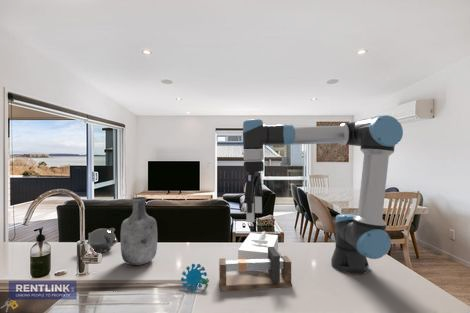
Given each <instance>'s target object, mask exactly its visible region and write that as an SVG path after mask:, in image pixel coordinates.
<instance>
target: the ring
mask: <svg viewBox="0 0 470 313" xmlns="http://www.w3.org/2000/svg"><path fill="white" fill-rule="evenodd" d="M280 258H281V255H280V253H279V252H278V253H277V251H276V250H275V248H274V247H268V259H272V270H268V272H267V273H269V274H270V276H271V278H272V281H273V283H280V273H281V269H280Z"/></svg>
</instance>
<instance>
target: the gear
mask: <svg viewBox="0 0 470 313" xmlns="http://www.w3.org/2000/svg"><path fill="white" fill-rule="evenodd" d="M185 269H186V270H187V273H186V271H184V270H183V272H182V273H181V274H182V275H183V276H184V277H186V278H184V277H183V276H182V277H181V278H180V281H181V282H182V287H183V288H186V290H187V291H189V292H190V291H191V289H192V291H194V292H196V291H197V287H198V288H199V289H201V288H202V287H203V285H205V286H208V285H209V284H208V283H209V282H210V280H209V278H204V277H207V275H208V273H207V271H206V269H205V267H204V266H202V265H201V264H200V263H197V265H196V264H195V263H191V267H190V266H189V265H188V266H186V268H185ZM204 271H205V272H204ZM202 276H204V277H202ZM184 282H185V283H184ZM188 285H189V286H188ZM197 285H198V286H197Z"/></svg>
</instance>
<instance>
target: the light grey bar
mask: <svg viewBox="0 0 470 313" xmlns="http://www.w3.org/2000/svg"><path fill="white" fill-rule="evenodd" d="M281 269H284V260H283V259H282V258H281V257H280V270H281ZM252 270H272V259H251V260H245V259H238V258H237V259H232V260H227V259H226V273H228V272H238V273H240V272H243V273H244V272H247V271H252Z"/></svg>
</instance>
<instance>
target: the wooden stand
mask: <svg viewBox="0 0 470 313" xmlns="http://www.w3.org/2000/svg"><path fill="white" fill-rule="evenodd" d="M280 258H282V259H283V260H284V269H280V283H273V281H272V278H271V276H270V274H269V272H266V273H252V274H251V273H250V274H249V273H248V274H231V275H230V274H227V272H226V261H227V259H226V257H225V258H224V257H223V258H219V259H218V261H219V262H218V263H219V264H218V265H219V266H218V267H219V268H218V269H219V271H218V273H219V274H218V275H219V276H218V277H219V278H218V279H219V280H218V282H219V288H220V292H225V291H227V290H230V291H245V290H246V291H247V290H248V291H249V290H263V289H264V290H266V289H269V290H270V289H283V288H285V289H286V288H293V283H292V261H291V260H290V258H289V256H288V255H280Z"/></svg>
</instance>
